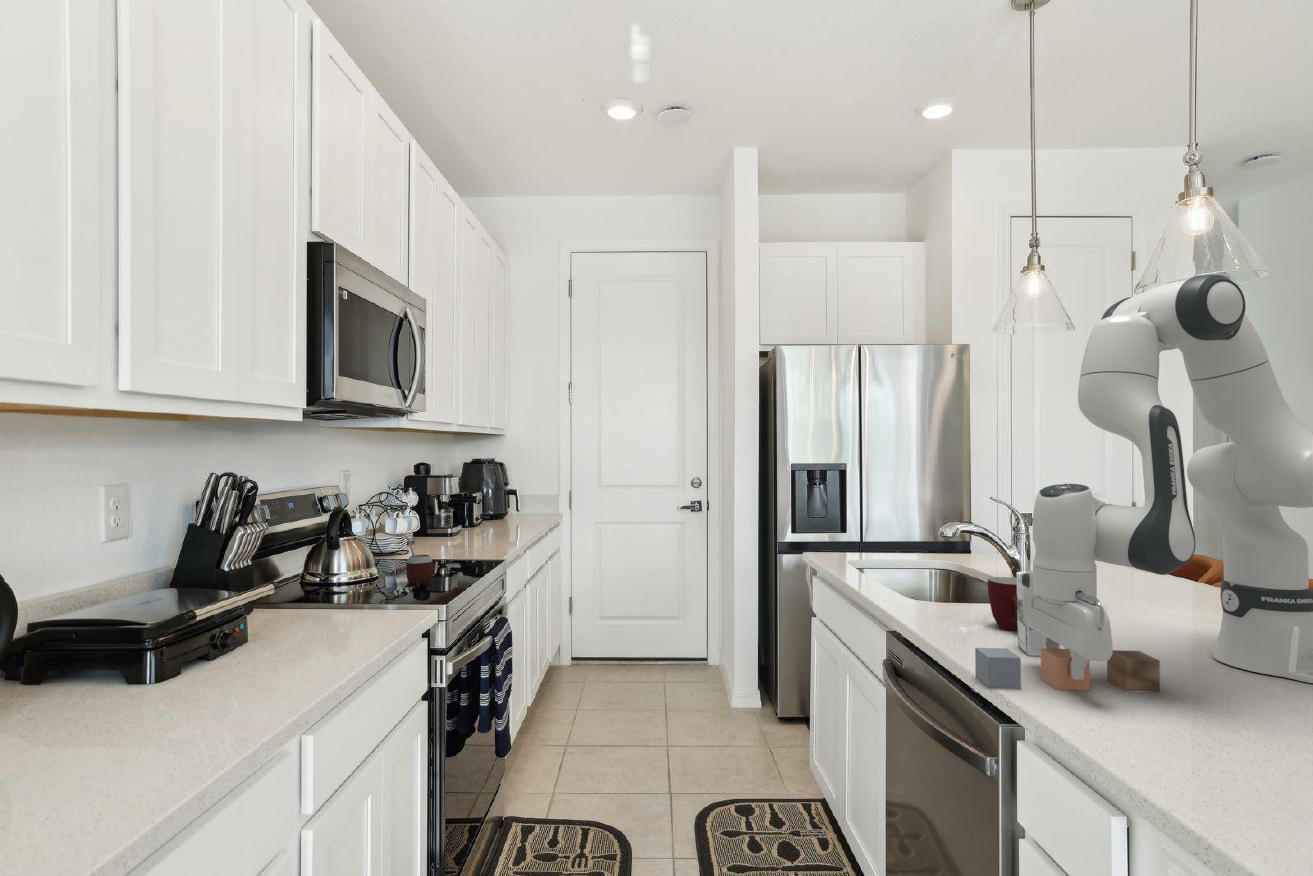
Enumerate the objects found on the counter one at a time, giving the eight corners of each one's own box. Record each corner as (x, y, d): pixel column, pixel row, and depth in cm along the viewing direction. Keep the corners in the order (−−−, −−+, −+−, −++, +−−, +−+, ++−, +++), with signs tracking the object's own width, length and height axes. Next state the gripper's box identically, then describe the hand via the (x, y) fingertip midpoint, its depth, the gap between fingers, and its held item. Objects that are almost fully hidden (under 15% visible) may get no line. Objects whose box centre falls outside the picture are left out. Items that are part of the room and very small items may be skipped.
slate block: (1006, 678, 112) (1006, 648, 112) (1020, 689, 107) (1020, 657, 107) (975, 677, 112) (975, 647, 112) (988, 688, 107) (988, 657, 107)
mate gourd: (435, 582, 189) (435, 528, 189) (429, 588, 181) (429, 532, 181) (407, 583, 188) (407, 529, 188) (400, 589, 180) (400, 533, 180)
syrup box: (1061, 658, 122) (1061, 577, 122) (1025, 656, 123) (1025, 576, 123) (1049, 648, 127) (1049, 571, 128) (1015, 646, 129) (1015, 570, 129)
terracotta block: (1072, 679, 111) (1072, 648, 111) (1089, 690, 106) (1089, 658, 106) (1040, 678, 111) (1040, 648, 111) (1056, 689, 106) (1056, 658, 106)
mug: (1045, 637, 135) (1045, 587, 135) (1003, 637, 135) (1003, 587, 135) (1020, 623, 145) (1019, 577, 145) (981, 623, 146) (981, 576, 146)
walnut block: (1139, 681, 110) (1138, 650, 110) (1159, 692, 105) (1159, 660, 105) (1107, 680, 110) (1107, 650, 111) (1126, 692, 106) (1126, 660, 106)
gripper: (1124, 600, 98) (1125, 695, 98) (1052, 573, 119) (1052, 652, 118) (1079, 600, 99) (1080, 694, 98) (1015, 573, 119) (1015, 651, 119)
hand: (1064, 671), depth 109 cm, fingers closed on terracotta block, 5 cm apart
